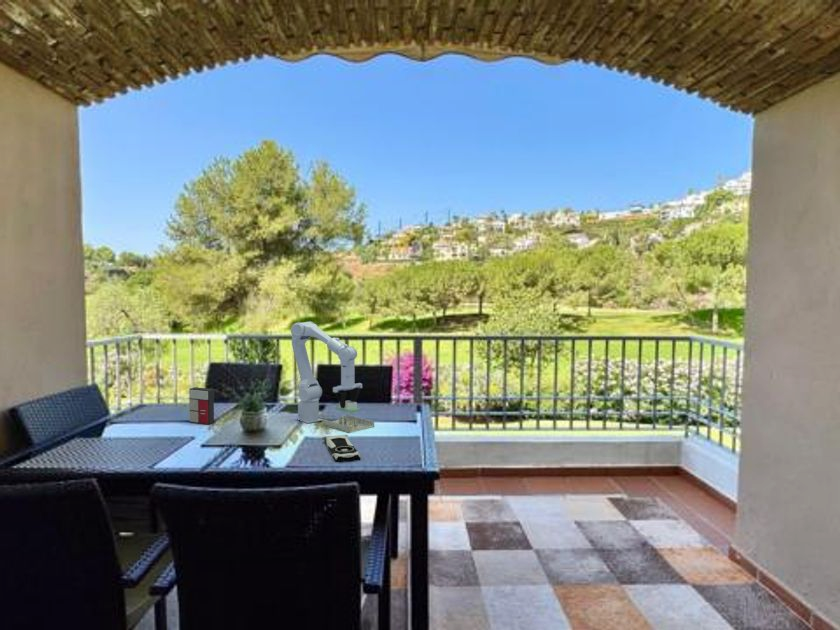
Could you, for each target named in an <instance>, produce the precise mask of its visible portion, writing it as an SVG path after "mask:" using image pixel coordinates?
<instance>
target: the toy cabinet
mask: <svg viewBox="0 0 840 630" xmlns="http://www.w3.org/2000/svg"><path fill="white" fill-rule="evenodd" d="M188 392H189V396H188V397H189V400H188V401H189V402H188V403H189V408H188V409H189V423H195V424H201V425H212V424H214V423H215V401H214V400H215V392H216V390H215V389H214V388H206V387H198V386H197V387H191V388H189V390H188Z"/></svg>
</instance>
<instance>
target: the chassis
mask: <svg viewBox="0 0 840 630" xmlns="http://www.w3.org/2000/svg"><path fill="white" fill-rule="evenodd" d="M322 419H323V420H322V421H321V422H322V423H321V425H322V426H325V427H327V428H331V429H334V430H337V431H340V432H343V433H347V434H349V433H354V432H355V433H356V432H358V431H362V430H367V429H371V427H372V428H374V427H375V421H373V420H371V419H367V418H363V417H359V416H356V415H352V414H350V413H349V414H348V413H346V415H345V416H343V417H342V416H340V417H339V419H337V420H328V419H324V418H322Z"/></svg>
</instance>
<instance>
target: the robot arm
mask: <svg viewBox="0 0 840 630" xmlns="http://www.w3.org/2000/svg"><path fill="white" fill-rule="evenodd" d="M290 333H291V334H290V335H291V345H292V350H293V354H294V357H295V362H296V365H297V369H298V373H299V377H300V383H299V384H298V397H299V399H300V401H299V402H298V405H297V418H296V419H298V420H297V421H299V420H300V422H303V423H306V424H312V423H316V422H320V421H321V422H322V420H323V419H324V418H320V415H319V414H320V413H319V412H320V409H319V408H320V407H319V406H320V403H319V402H320V401H319V400H320V398H321V397H322V394H323V389H322V387H321V386H320V384H319V381H318V380H317V379H315V377H314V375H313V374H314V373H313V371H312V370H313V369H312V366H311V363H310V360H309V355H308V351H307V347H306V343H307V342H308V339H310V338H311V337H314V338H315V339H317V340H319V341H320V342H321V343H324V344H326V347H327V349H328V350H329V351H331V352H332V353H334V354H335V355H337V357H338V359H339V361H340V385H337V386H333V387H332V392H333V393H335V395H336V397H337V399H338V404H339V403H340V407H341V408H345V401H346V398H347V392H346V391H348V392H349V396H350V397H349V398H350V400H349V401H353V402H357V399H358V397H359V394H360V393H361V389H363V383H361V382H358V383H355V382H356V380H355V371H356V370H355V369H356V368H355V363H356V362H355V359H356V358H358V351H357V349H356V348H355V347H354V346H353V345H352V346H348V344H347V343H345V342H343V341H341V340H340V338H339V337H331V336H330V335H328V334H327V333H326V332H325V331H323V330H322V329H321V328H319V327H318V324H315V323H314V322H313V321H305V322H295V323H294V324H293V325H292V327H290Z"/></svg>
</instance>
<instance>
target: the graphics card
mask: <svg viewBox="0 0 840 630" xmlns="http://www.w3.org/2000/svg"><path fill="white" fill-rule="evenodd" d="M348 436H349V435H348V434H339V435H329V436H324V437H321V439H322V441H321V442H322V443H321V444H322V445H325V446H326V448H327V450H328V452H329V454H330V453H331V454H330V456H331V457H332V459H333V458H334V459H333V460H334V462H335V463H336V462H338V463H344V462H343V461H348V462H355V461H354V460H359V461H361V454H360V453H359V451H358V450H357V449H356V447H355V446H354V445H353V444H352V442H351V441H350V440H349V437H348Z"/></svg>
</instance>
